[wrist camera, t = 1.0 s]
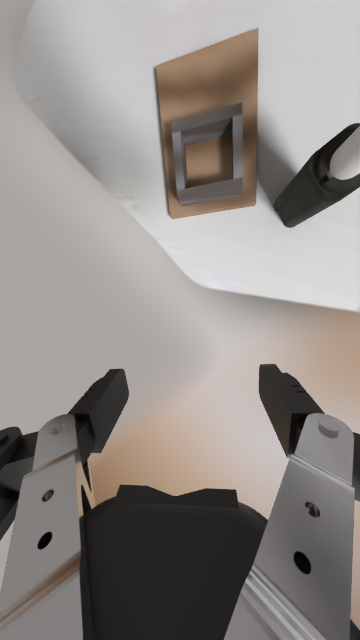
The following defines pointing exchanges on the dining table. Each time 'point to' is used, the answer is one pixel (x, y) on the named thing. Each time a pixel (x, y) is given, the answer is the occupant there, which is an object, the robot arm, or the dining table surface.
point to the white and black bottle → (323, 178)
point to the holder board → (210, 126)
